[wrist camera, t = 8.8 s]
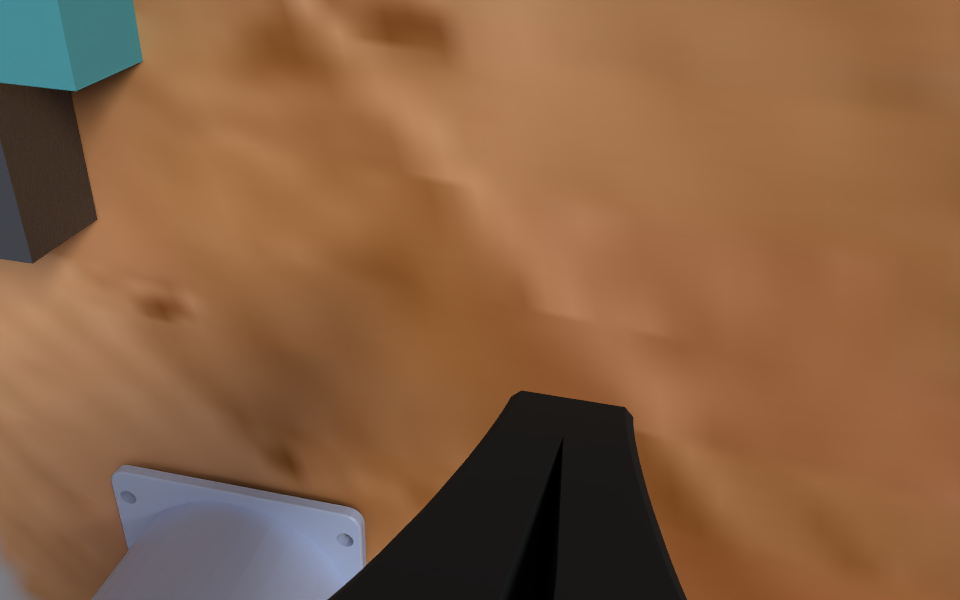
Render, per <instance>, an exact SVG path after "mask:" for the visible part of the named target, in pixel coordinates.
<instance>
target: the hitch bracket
mask: <svg viewBox="0 0 960 600" xmlns="http://www.w3.org/2000/svg"><path fill="white" fill-rule="evenodd" d="M95 220H97V216H96V212H95V207H94V202H93V197H92V193H91V188H90V183H89V178H88V174H87V169H86V164H85V159H84V155H83V150H82V145H81V141H80V136H79V131H78V126H77V122H76V117H75V112H74V107H73V103H72V98H71V93H70V91H69V90H60V89H51V88H43V87H34V86H25V85H16V84H7V83H0V259H6V260H12V261H19V262H26V263H32V264H33V263H34V262H36V261H37V260H39V259H40V258H42V257H43V256H44V255H46V254H47V253H49V252H50V251H52V250H53V249H55V248H56V247H58V246H59V245H60V244H62V243H63V242H65V241H66V240H68V239H69V238H71V237H72V236H74V235H75V234H76V233H78V232H79V231H81V230H82V229H84V228H85V227H87V226H88V225H90V224H91V223H92V222H94V221H95Z"/></svg>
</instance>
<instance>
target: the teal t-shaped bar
mask: <svg viewBox="0 0 960 600" xmlns="http://www.w3.org/2000/svg"><path fill="white" fill-rule="evenodd" d="M142 61H143V60H142V54H141V48H140V42H139V36H138V29H137V23H136V17H135V11H134V5H133V0H0V83H7V84H16V85H25V86H34V87H43V88H51V89H60V90H69V91H78V90H80V89H82V88H85V87H87V86H89V85H91V84H93V83H96V82H98V81H100V80H102V79H104V78H107V77H109V76H111V75H113V74H115V73H118V72H120V71H122V70H124V69H127V68H129V67H131V66H133V65H135V64H138V63H140V62H142Z"/></svg>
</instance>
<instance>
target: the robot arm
mask: <svg viewBox="0 0 960 600" xmlns="http://www.w3.org/2000/svg"><path fill="white" fill-rule="evenodd" d="M111 481H112V485H113V490H114V494H115V498H116V502H117V506H118V510H119V514H120V518H121V522H122V526H123V530H124V535H125V539H126V543H127V547H128V552H127V553H126V554H125V556H124V557H123V558H122V560H121V561H120V562H119V564H118V565H117V566H116V567H115V569H114V570H113V571H112V573H111V574H110V575H109V577H108V578H107V579H106V581H105V582H104V583H103V585H102V586H101V587H100V589H99V590H98V591H97V592H96V594H95V595H94V596H93V598H92V599H91V600H687V599H686V596H685V594H684V592H683V589H682V587H681V585H680V582H679V580H678V577H677V575H676V572H675V570H674V567H673V564H672V562H671V559H670V557H669V554H668V551H667V548H666V545H665V543H664V540H663V537H662V534H661V531H660V528H659V525H658V523H657V520H656V517H655V514H654V511H653V508H652V505H651V501H650V498H649V495H648V492H647V488H646V484H645V481H644V477H643V473H642V469H641V466H640V461H639V457H638V452H637V447H636V442H635V435H634V427H633V417H632V415H631V414H630V413H629V412H628V410H627V409H626V408H625V407H620V406H614V405H608V404H601V403H595V402H589V401H583V400H577V399H570V398H564V397H558V396H552V395H546V394H539V393H533V392H527V391H520V392H518V393H517V394H515V395H513V396H512V397H511V398H510V400H509V401H508V403H507V405H506V406H505V408H504V410H503V411H502V413H501V414H500V415H499V417H498V418H497V420H496V421H495V423H494V424H493V426H492V427H491V428H490V430H489V431H488V432H487V434H486V435H485V436H484V438H483V439H482V440H481V442H480V443H479V444H478V445H477V447H476V448H475V449H474V450H473V452H472V453H471V454H470V456H469V457H468V458H467V459H466V460H465V462H464V463H463V464H462V465H461V466H460V467H459V469H458V470H457V471H456V472H455V473H454V474H453V476H452V477H451V478H450V479H449V480H448V481H447V482H446V484H445V485H444V486H443V487H442V488H441V489H440V491H439V492H438V493H437V494H436V495H435V496H434V497H433V499H432V500H431V501H430V502H429V503H428V504H427V505H426V506H425V507H424V508H423V509H422V510H421V511H420V512H419V513H418V514H417V516H416V517H415V518H414V519H413V520H412V521H411V522H410V523H409V524H408V525H407V526H406V527H405V528H404V529H403V530H402V531H401V532H400V533H399V534H398V535H397V536H396V537H395V538H394V539H393V540H392V541H391V542H390V543H389V544H388V545H387V546H386V547H385V548H384V549H383V550H382V551H381V552H380V553H379V554H378V555H377V556H376V557H375V558H374V559H372V560H371V561H370V562H369V563H368V564H367V565H366V545H365V522H364V519H363V517H362V515H361V514H360V513H359V512H358V511H357V510H355V509H353V508H350V507H347V506H341V505H336V504H331V503H326V502H320V501H315V500H310V499H305V498H299V497H294V496H289V495H284V494H278V493H273V492H268V491H263V490H257V489H252V488H247V487H242V486H236V485H231V484H226V483H221V482H215V481H210V480H205V479H199V478H194V477H189V476H184V475H178V474H173V473H168V472H163V471H157V470H152V469H147V468H142V467H136V466H131V465H122V466H120V467H119V468H118V469H117V470H116V471H115V472H114V474H113V475H112V477H111ZM344 533H345V534H347V535H349V536H350V537H349V536H347V535H345V534H344Z"/></svg>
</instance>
